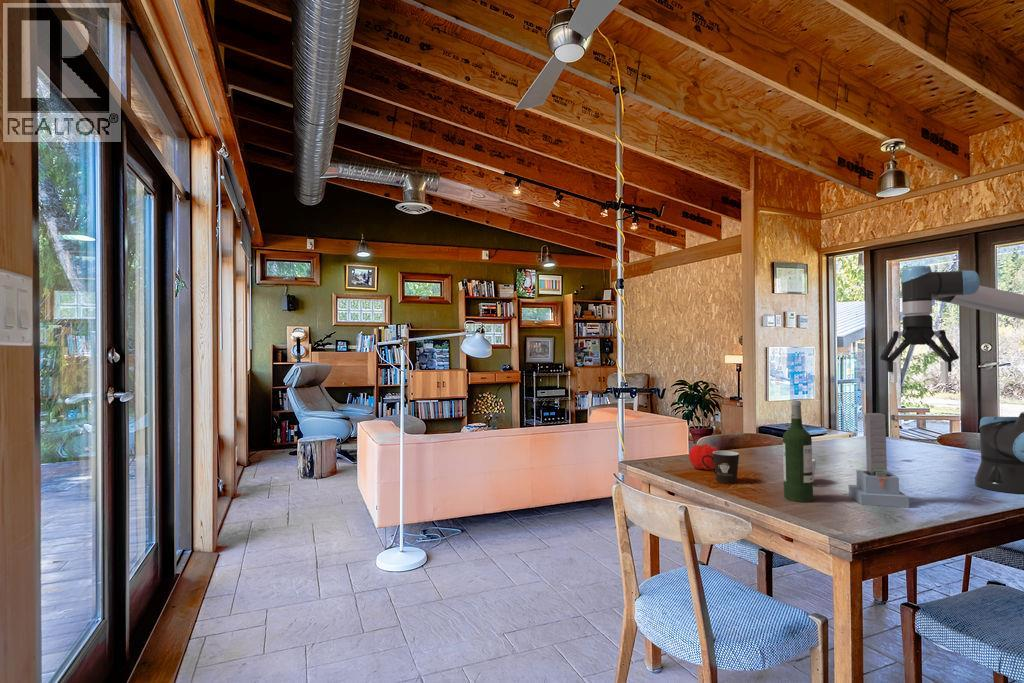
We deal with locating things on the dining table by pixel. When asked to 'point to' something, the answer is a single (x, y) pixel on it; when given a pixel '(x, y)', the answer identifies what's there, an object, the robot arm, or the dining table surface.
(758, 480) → the dining table surface
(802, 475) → the wine bottle
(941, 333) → the robot arm
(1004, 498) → the dining table surface
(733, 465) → the coffee mug
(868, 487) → the stand base
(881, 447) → the column
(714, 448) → the red rounded lump
